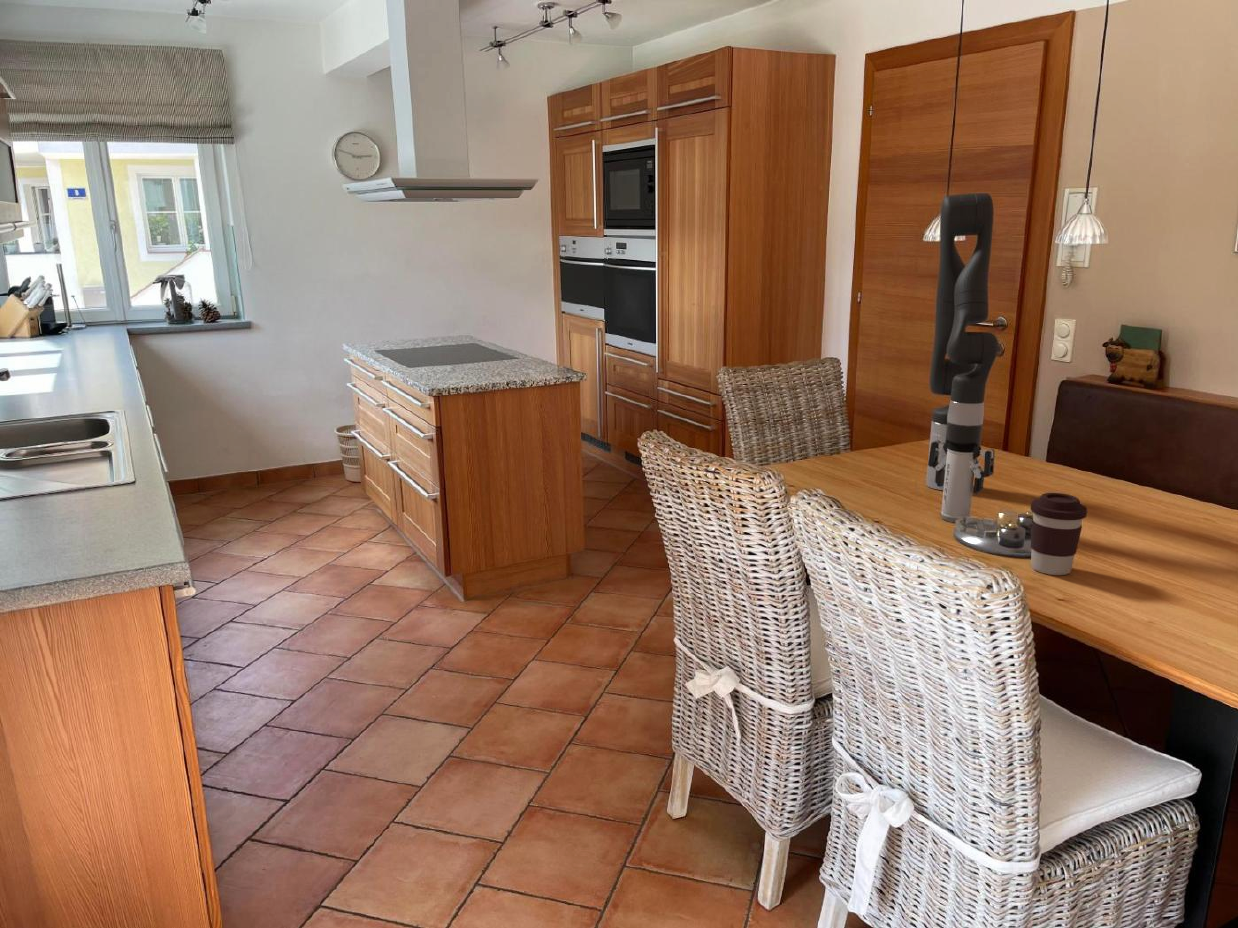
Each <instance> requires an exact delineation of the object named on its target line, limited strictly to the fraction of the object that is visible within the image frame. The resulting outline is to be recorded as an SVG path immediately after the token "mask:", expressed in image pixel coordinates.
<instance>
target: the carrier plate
mask: <svg viewBox="0 0 1238 928" xmlns="http://www.w3.org/2000/svg"><path fill="white" fill-rule="evenodd" d="M1032 519H1033V512H1032V511H1031V510H1030V511H1026V512H1025V513H1024V512H1023V513H1018V512H1016V511H1013V510H1008V509H1002V510H998V511H997V518H996V519H994V518H988V517H984V518H983V519H979V517H977V516H970V517H966V522H963V521H964V519H963V518H959V519H957V520H956V523H955V524H954V528H953V538H954V539H955V540H956V541H957V542H958V543H960V544H961V545H963V546H965V547H967V548H970V549H972V550H975V551H979V552H981V553H985V554H989V555H995V556H999V557H1009V558H1019V559H1020V558H1022V559H1023V558H1027V559H1028V558H1030V559H1031V551H1032V548H1031V527H1032Z"/></svg>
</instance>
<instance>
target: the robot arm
mask: <svg viewBox="0 0 1238 928" xmlns="http://www.w3.org/2000/svg"><path fill="white" fill-rule="evenodd" d="M939 215H940V218H939V222H940V223H939V265H938V279H937V286H936V296H935V298H936V299H935V317H934V318H935V320H934V321H935V324H934V340H933V347H932V356H931V364H930V369H929V370H930V371H929V389H930V392H931V393H932V394H934V395H939V396H950V401H949V402H950V403H949V405H945V406H941V407H940V406H939V407H937V408H935V409H933V411H932V415H931V426H930V427H931V428H930V437H929V447H928V448H929V449H928V460H927V468H926V480H925V485H926V486H927V487H928V488H931V489H934V490H940V491H943V490H944V480H945V470H946V460H947V451H948V450H947V449H948V445H949V444H948V441H950V442H953V443H958V444H974V446H975V447H974V448H973V460H975V459H976V463H975V464H974V463H973V461H972V460H971V459H970V464H971V465H970V469H971V470H972V471H973V473H974V482H973V491H972V494H976V495H977V494H979V493H980V492H982V491H983V489H984V481H985V478H989V477H991V476H993V475H994V470H995V469H994V467H995V450H994V449H992V448H991V449H982V447H981V442H982V434H983V433H982V432H983V424H984V415H985V414H984V413H985V409H984V407H985V404H984V403H985V396H986V395H985V393H986V385H987V382H988V377H989V376H990V372H991V369H992V367H993V365H994V362H995V360H996V359H997V356H998V355H997V354H998V352H999V349H1000V347H999V346H1000V344H999V340H998V338H997V336H996V335H995V334H994V333H993V332H991V331H966V328H967V327H969V326H973V325H978V324H981V323H984V322H985V321H987V319H988V318H989V284H988V283H989V271H990V270H989V269H990V264H991V263H990V260H991V252H992V242H993V241H992V240H993V239H992V238H993V230H994V203H993V198H992V196H991V195H990V194H989V193H987V192H974V193H962V194H961V193H960V194H950V195H947V196H945V197H944V198H943V200H942V201H941V208H940V213H939ZM965 236H966V237H967V236H968V237H969V236H977V238H976V245H975V247H974V250H973V252H972V254H971V256H970V258H969V260H968V261H967V263H966V265H965V263H964V261H963V260H962V258H961V255H960V253H959V251H958V249H957V246H956V244H955V243H956V242H955V238H956V237H965ZM946 355H947V357H948V358H946ZM980 455H981V457H982V459H983V460H984V463H983V464H984V465H983V467H982V464H981V462H980V460H979V457H980Z"/></svg>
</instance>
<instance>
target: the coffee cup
mask: <svg viewBox="0 0 1238 928" xmlns="http://www.w3.org/2000/svg"><path fill="white" fill-rule="evenodd" d="M1030 511H1031V512H1033V519H1032V527H1031V548H1032V551H1031V558H1030V566H1031V568H1032V569H1033V570H1035V571H1037V572H1039V573H1041V574H1044V575H1048V576H1049V575H1051V576H1066V575H1068V574H1070V573H1071V571H1072V567H1073V564H1074V558H1075V555H1076V554H1077V552H1078V551H1077V550H1078V547H1079V541H1080V538H1081V532H1082V529H1083V525H1082V521H1083V520H1084V519H1085V518H1087V514H1088V508H1087V506H1086V505H1084V504H1082V503H1081V502H1080V499H1079V498H1078V497H1076V496H1075V495H1071V494H1068V493H1067V494H1066V493H1060V492H1045V493H1043V494H1041V495H1040V496H1039V498H1036V499H1033V500H1032V501H1031V502H1030Z"/></svg>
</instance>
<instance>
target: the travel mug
mask: <svg viewBox="0 0 1238 928" xmlns="http://www.w3.org/2000/svg"><path fill="white" fill-rule="evenodd" d="M948 444H949V445H948V449H947V450H948V451H947V460H946V470H945V480H944V490H942V492H943V493H942V501H941V512H940V514H941V515H940V518H941V519H942V520H943V521H946V522H948V523H953V524H954V523H955V524H956V520H957V519H959V518H963V519H964V521H963V522H966V517H971V511H972V510H971V509H972V500H973V498H972V497H973V490H974V481H975V474H974V473H973V471H972V470H971V469H970V465H971V464H970V459H971V460H972V461H973V463H974V464H975V463H976V459H975V460H973V448H974V447H975V446H974V444H958V443H953V442H950V441H948Z"/></svg>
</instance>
